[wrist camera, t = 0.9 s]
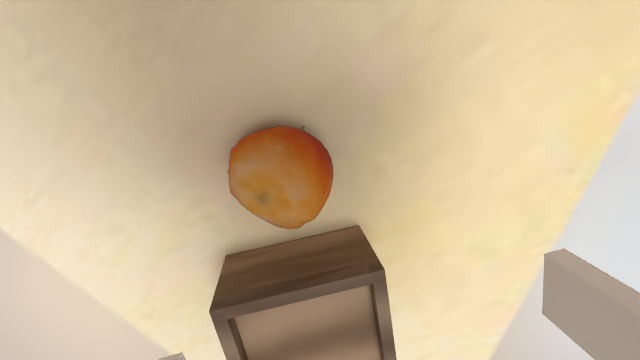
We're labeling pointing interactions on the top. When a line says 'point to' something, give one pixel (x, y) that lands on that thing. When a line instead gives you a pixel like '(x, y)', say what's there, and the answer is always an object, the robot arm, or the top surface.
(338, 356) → the open wooden box
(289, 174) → the fruit
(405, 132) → the top surface
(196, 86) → the top surface
